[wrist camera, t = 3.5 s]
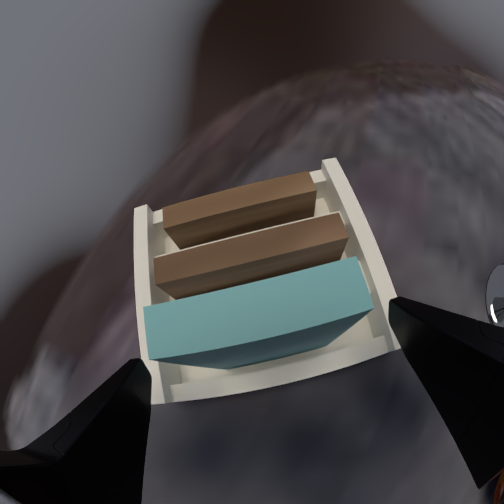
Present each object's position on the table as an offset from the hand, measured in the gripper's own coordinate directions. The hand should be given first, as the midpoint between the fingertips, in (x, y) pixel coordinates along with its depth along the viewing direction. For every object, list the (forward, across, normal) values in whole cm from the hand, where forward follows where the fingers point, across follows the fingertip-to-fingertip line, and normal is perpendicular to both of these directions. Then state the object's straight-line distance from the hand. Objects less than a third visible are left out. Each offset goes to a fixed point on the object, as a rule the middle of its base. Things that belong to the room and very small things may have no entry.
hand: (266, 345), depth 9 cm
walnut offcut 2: (+9, 0, +2) cm, 9 cm away
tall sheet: (+6, 0, +5) cm, 8 cm away
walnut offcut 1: (+11, 0, -1) cm, 11 cm away
